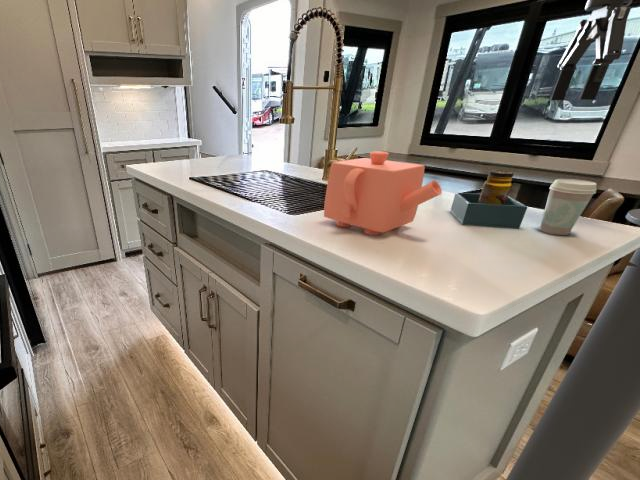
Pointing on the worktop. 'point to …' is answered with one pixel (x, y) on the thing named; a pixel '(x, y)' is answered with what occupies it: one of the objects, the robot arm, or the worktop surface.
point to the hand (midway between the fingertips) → (570, 100)
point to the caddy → (487, 211)
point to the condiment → (496, 188)
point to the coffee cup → (566, 205)
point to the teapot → (376, 192)
